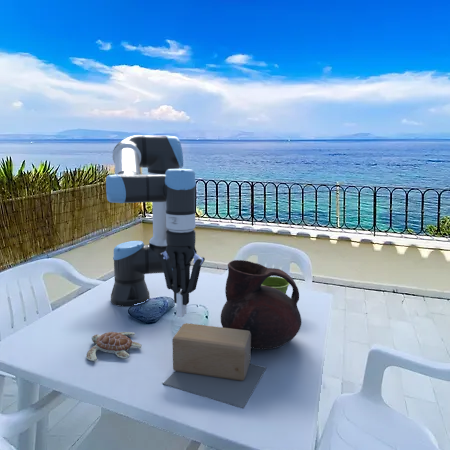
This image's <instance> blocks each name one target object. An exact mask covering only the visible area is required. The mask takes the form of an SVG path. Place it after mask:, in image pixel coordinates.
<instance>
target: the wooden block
mask: <svg viewBox="0 0 450 450" xmlns="http://www.w3.org/2000/svg"><path fill="white" fill-rule="evenodd" d="M251 350H252V348H251V333H250V331H248V330H239V329H231V328H223V327H222V326H213V325H205V324H204V325H203V324H198V323H197V324H196V323H187V322H185V323H183V324H182V325H181V326H180V327H179V329H178V330H177V332H176V333H175V334H174V336H173V337H172V370H173V371H174V372H175V371H179V372H186V373H192V374H199V375H206V376H213V377H219V378H226V379H233V380H239V381H243V380H244V379H245V377H246V374H247V371H248V367H249V364H251V357H252V356H251V353H252V351H251Z"/></svg>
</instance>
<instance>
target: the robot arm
mask: <svg viewBox="0 0 450 450" xmlns="http://www.w3.org/2000/svg"><path fill="white" fill-rule="evenodd" d="M181 143H182V142H181V140H180V139H179V137H177V136H174V135H161V134H160V135H152V134H151V135H150V134H149V135H145V134H143V135H141V134H135V135H131V136H128V137H125V138H124V139H122V140H121V141H119V142H117V144H116V145H115V146H114V147H113V150H112V156H111V157H112V161H113V163H114V174H110V175H109V174H108V175H107V176H106V178H105V192H106V200H107V201H108V202H109V203H111V204H112V203H117V204H129V203H130V204H133V203H134V204H135V203H138V204H139V203H152V237H151V238H150V239H149V240H148V242H149V243H148V244H145V243H144V242H143V241H142V240H130V241H126V242H125V241H124V242H122V243H119V244H117V245H116V246H114V249H113V257H112V258H113V259H112V260H113V273H114V275H113V276H114V283H113V285H112V286H113V287H112V290H111V293H110V302H111V304H112V305H115V306H117V307H123V308H124V307H125V308H127V307H133V306H132V305H134V304H137V303H141V302H144V301H146V300H147V299H149V300H150V291H149V289H148V286H147V283H146V280H145V275H149V274H150V275H151V274H163V275H164V280H165V284H166V288H167V289H168V290H171V291H172V292H173V302H174V304H176V317H177V318H183V317H184V316H186V315H187V313H188V312H187V307H188V306H187V305H188V304H189V303H190V294H191V293H192V292H194V291H195V290H196V289H197V285H198V281H199V277H200V272H201V268H202V265H203V264H204V262H205V257H204V256H200V255H199V254H197V251H198V250H197V248H196V230H195V228H196V227H197V226H196V225H197V224H196V185H197V181H196V173H195V170H194V169H191V168H183V167H184V155H183V153H184V152H183V149H182V144H181ZM140 168H144V169H145V168H147V173H148V174H141V169H140ZM192 261H193V262H192ZM192 263H193V265H192ZM191 265H192V269H191Z"/></svg>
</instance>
